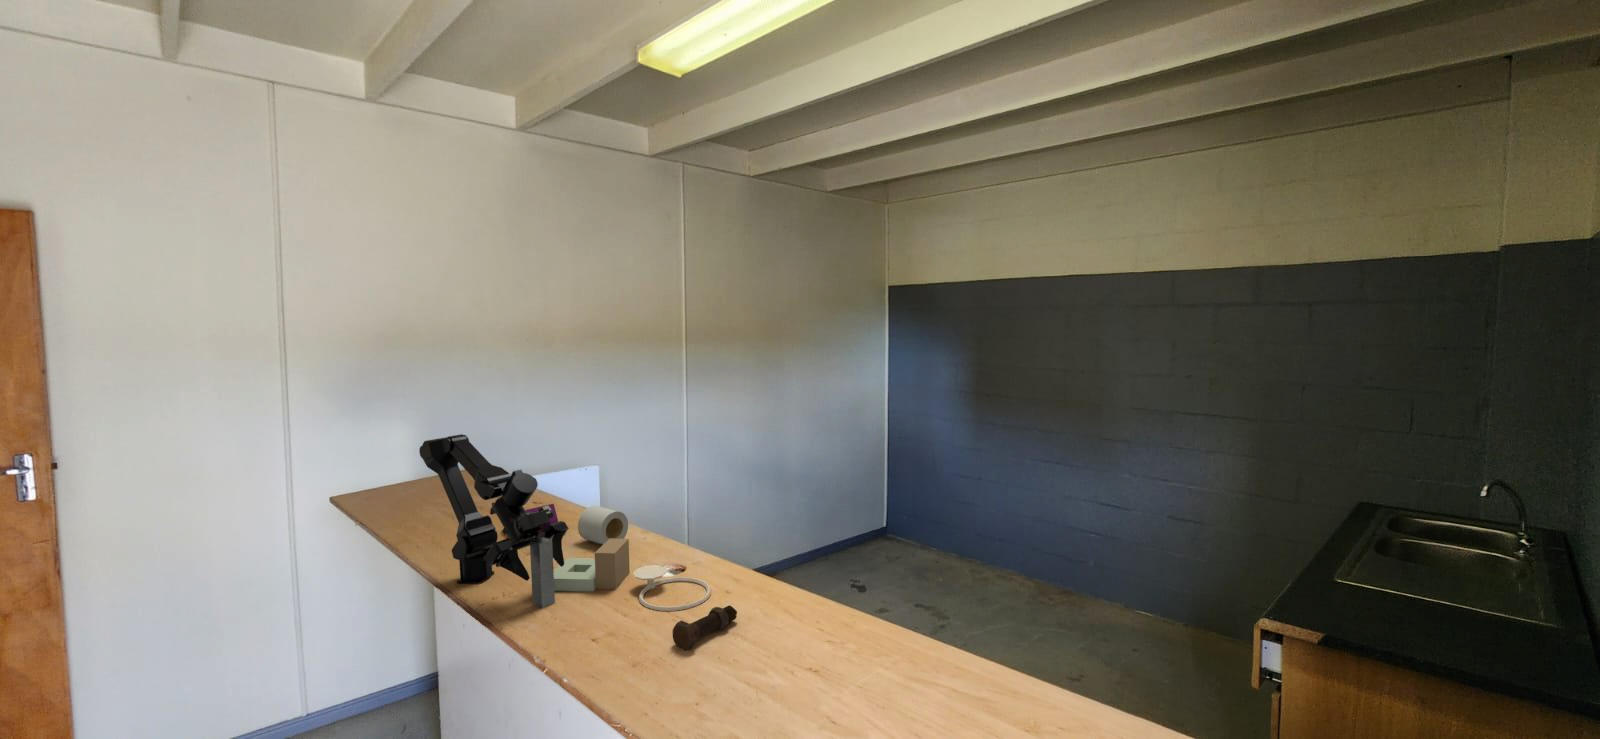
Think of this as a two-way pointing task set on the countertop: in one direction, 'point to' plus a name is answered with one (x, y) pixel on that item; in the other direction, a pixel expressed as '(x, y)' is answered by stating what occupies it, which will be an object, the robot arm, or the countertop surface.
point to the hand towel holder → (657, 572)
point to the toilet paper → (602, 524)
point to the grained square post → (542, 572)
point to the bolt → (702, 626)
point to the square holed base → (595, 569)
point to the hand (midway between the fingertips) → (546, 572)
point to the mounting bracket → (551, 521)
